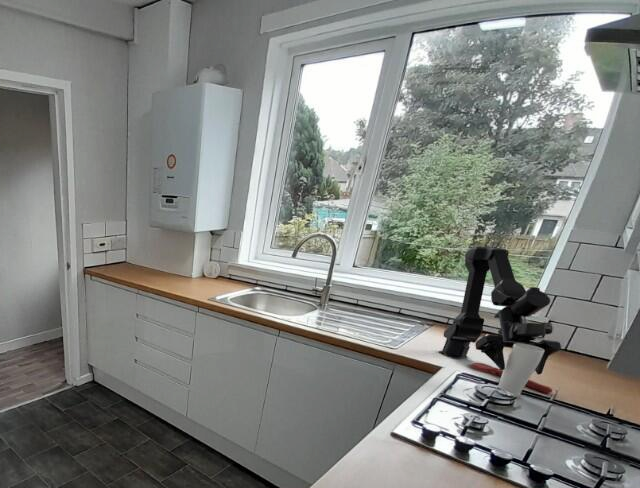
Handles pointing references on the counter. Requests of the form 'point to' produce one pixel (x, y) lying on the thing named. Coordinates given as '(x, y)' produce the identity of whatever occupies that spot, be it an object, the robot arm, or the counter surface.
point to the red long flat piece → (499, 372)
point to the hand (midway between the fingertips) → (521, 371)
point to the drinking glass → (520, 367)
